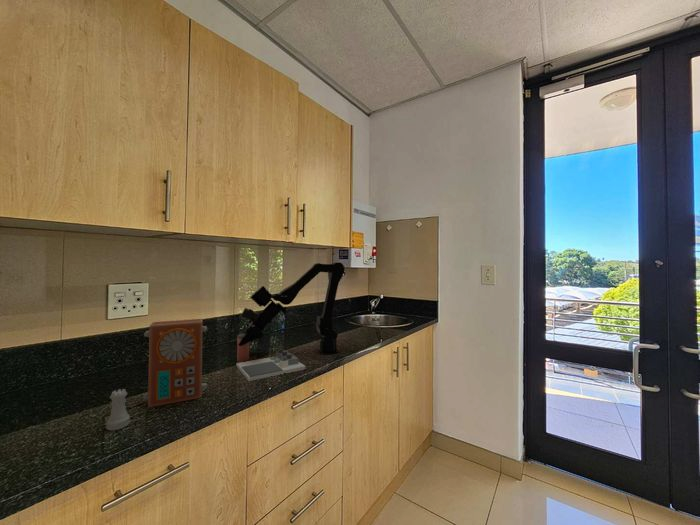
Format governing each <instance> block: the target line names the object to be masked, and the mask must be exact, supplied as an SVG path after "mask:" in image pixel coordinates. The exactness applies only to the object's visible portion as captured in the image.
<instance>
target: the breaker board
mask: <svg viewBox="0 0 700 525" xmlns="http://www.w3.org/2000/svg"><path fill="white" fill-rule="evenodd" d="M275 353H276V354H275V356H270V357H264V358H259V359H254V360H253V359H252V360H248V361H245V362H236V365H235V367H236V368H237V369H238V371H239V372H240V373H241V374H242V375H243V377H244V378H245V379H246V380H247V381H248V382H251V381H255V380H261V379H262V380H263V379H266V378H267V379H268V378H271V376H272V377H275V376H281V375H285V374H284V373H286V374H289V373H294V372H299V371H304V369H305V370H306V365H304V364H303V363H302V362H300V360H299V357H298V356H296V355H294V354H292V353H291V352H289V351H288V350H284V349H283V348H278V349H277V351H276V352H275ZM280 374H281V375H280Z"/></svg>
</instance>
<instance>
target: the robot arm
mask: <svg viewBox="0 0 700 525" xmlns="http://www.w3.org/2000/svg"><path fill="white" fill-rule="evenodd" d="M345 270H346V269H345V266H344V264H343V263H341V262H340V261H339V262H331V263H329V264H328V263H320V262H317V263H314V264H313V265H312V266H311V268H309V269H308V270H307V271H306V272H305V273H304V274H303V275H301V276H300V278H298V279H297V280H296V281H295V282H293V283H292V284H290V285H288V286H287V287H286V288H284V289H282V290H281V291H279V292H278V293H273V294H272V293H270V292H269V290H267V288H266V286H264V285H262V286H261V287H260V288H258V290H256V291H254V292H253V293H252V295H250V299H251V300H252V301H253V302H255V304H256V305H258V306H259V307H260V308H261V307H265V308H263V309H262V310H261V311H259V312H257V311H255V310H253V309H251V308H247V307H244V309H243V311H242V313H241V315H240V317H241V318H244V319H245V318H246V319H248V320H247V323H246V330H245V332H243V334H245V336H244V337H243V338H242V340H241V341H240V343H239V344H238V345H239V346H242V345H244V344H247V343H249V344H250V343H251V342H253V341H255V340H259V341H260V340H261V339H262V338H263V337H264V331H265V329H266V328H267V327H268V326H269V325H270V324H272V323H273V321H274V319H275V318H276V317H278V315H279V314H280V313H281V312H282V313H283V314H284V315H286V314H287V307H286V306H287V305H290V304H292V303H293V301H294V300H295V298H296V297H297V296H298V295H299V293H300V292H301V290H302V289H303V288H304V287H306V285H308V284H309V283H310V282H311V281H312V280H314V278H315V277H316V276H318V275H319V274H320V273H327V276H328V283H327V284H328V285H327V288H326V293H325V298H324V303H323V308H322V313H321V314H320V316H319V315H317V316H316V322H315V324H314V325H315V327H316V328H315V329H316V331H317V332H318V333H319V334H320V336H321V337H320V341H319V350H318V352H319V353H322V354H325V355H329V354H335V353H338V352H339V350H337V339H338V333H337V332H335V330H334V329H333V327H334V326H333V325H334V322H333V321H334V320H333V310H334V308H335V303H336V298H337V297H336V296H337V292H338V288H339V284H340V282H341V280H342V278H343V276H344V272H346V271H345ZM275 301H276V302H275ZM283 305H285V306H283Z"/></svg>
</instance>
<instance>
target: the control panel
mask: <svg viewBox="0 0 700 525" xmlns="http://www.w3.org/2000/svg"><path fill="white" fill-rule="evenodd" d="M207 331H208V326H206V325H203V319H202V318H194V319H193V318H192V319H182V320H181V319H179V320H167V321H166V320H165V321H153V322H152V323H151V324H150V325H149V329H148V330H146V331H145V332H144V333H143V335H144V337H145V338H146V337H147V338H148V339H149V340H148V341H149V342H148V385H147V386H148V387H147V388H148V389H147V390H148V391H147V392H144V394H143V396H142V399H143V400H147V407H148V408H151V407H159V406H163V405H167V404H173V403H181V402H185V401H191V400H195V399H201V398H202V395H203V393H202V392H203V391H204V390H207V386H208V384H207V383H206V382H203V333H204V332H207Z"/></svg>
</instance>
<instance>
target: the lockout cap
mask: <svg viewBox="0 0 700 525" xmlns="http://www.w3.org/2000/svg"><path fill="white" fill-rule="evenodd" d="M244 336H245V334H244V333H240V334H237V339H236V340H237V343H236V344H237V349H236V351H237V353H236V355H237V356H236V357H237V358H236V362H237V363H241V362H244V361H245V362H246V361H250V342H249V343H247V344H244V345H242V346H239V345H238V344H239V343H240V341H241V340H242V338H243V337H244Z"/></svg>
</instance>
